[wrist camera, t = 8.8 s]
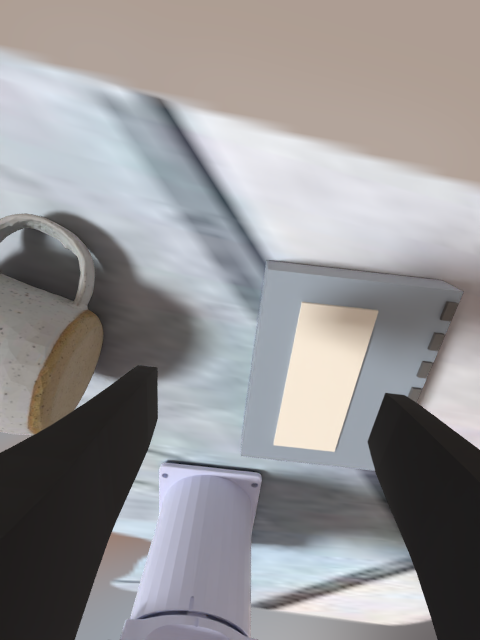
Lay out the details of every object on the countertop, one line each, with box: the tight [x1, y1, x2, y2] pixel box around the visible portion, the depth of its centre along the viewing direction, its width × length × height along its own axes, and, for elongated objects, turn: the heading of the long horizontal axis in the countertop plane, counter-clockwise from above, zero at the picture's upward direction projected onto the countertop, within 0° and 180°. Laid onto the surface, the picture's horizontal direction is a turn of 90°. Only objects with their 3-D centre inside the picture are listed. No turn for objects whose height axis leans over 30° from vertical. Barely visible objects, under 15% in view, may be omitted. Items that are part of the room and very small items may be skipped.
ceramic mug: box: [0, 214, 103, 435], centre depth 16 cm, size 11×8×8 cm
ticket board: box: [241, 260, 464, 471], centre depth 19 cm, size 13×10×2 cm
